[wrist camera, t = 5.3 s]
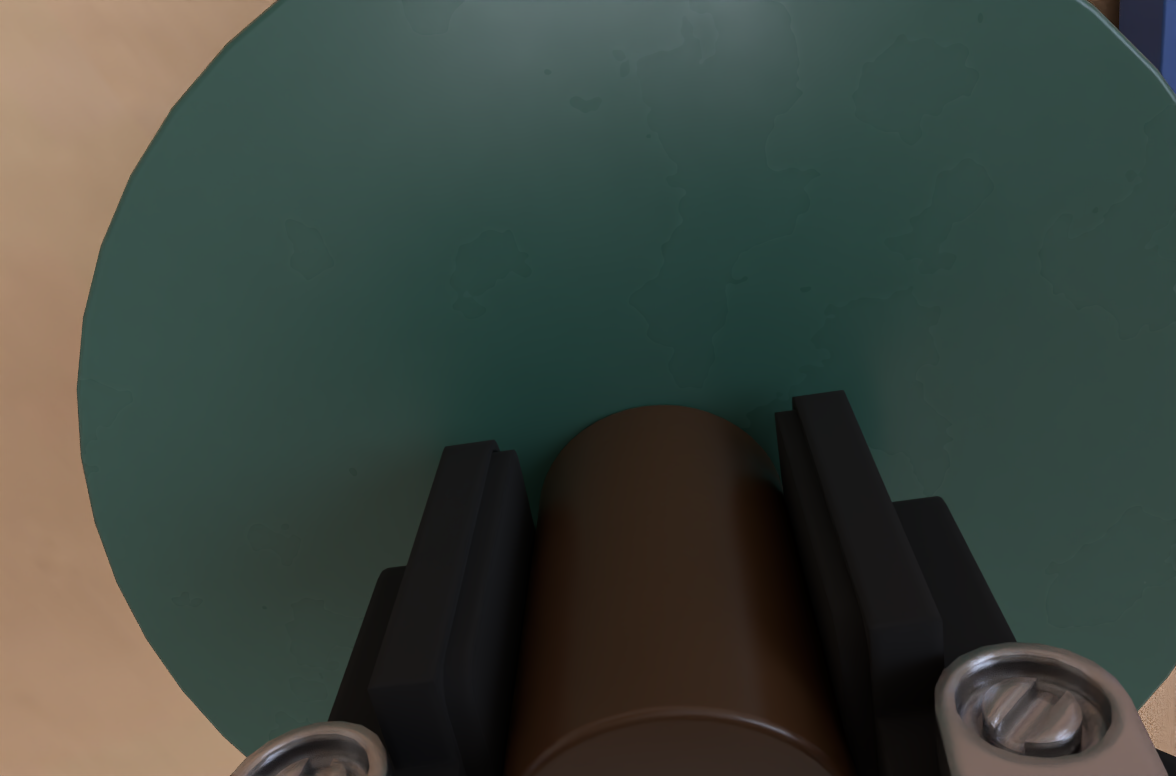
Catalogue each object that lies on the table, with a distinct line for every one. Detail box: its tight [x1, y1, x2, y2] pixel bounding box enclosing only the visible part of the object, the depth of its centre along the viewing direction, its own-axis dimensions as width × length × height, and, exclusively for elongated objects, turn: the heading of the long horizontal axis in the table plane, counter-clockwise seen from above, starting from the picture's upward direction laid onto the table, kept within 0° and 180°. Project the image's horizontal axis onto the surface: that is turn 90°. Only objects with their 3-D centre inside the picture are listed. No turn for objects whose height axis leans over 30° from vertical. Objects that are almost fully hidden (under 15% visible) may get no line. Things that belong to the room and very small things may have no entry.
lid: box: [77, 0, 1176, 776], centre depth 11 cm, size 13×13×6 cm
